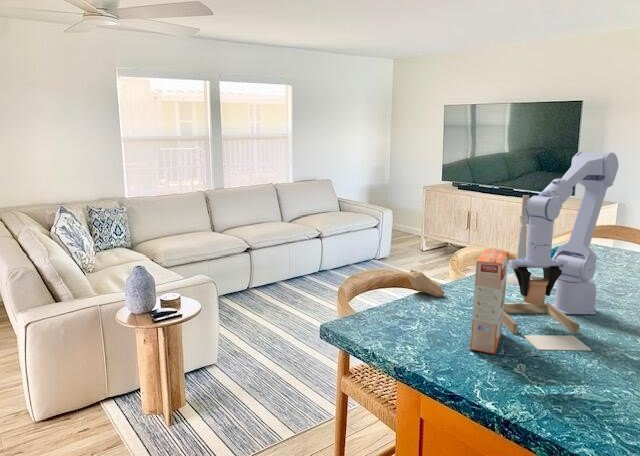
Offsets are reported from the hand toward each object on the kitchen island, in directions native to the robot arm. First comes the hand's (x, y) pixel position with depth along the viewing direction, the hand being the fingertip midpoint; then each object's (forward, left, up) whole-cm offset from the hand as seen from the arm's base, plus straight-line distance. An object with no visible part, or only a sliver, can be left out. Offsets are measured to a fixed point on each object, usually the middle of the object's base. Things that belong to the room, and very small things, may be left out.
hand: (535, 295), depth 124 cm
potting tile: (0, +13, -8) cm, 15 cm away
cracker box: (+16, +13, -8) cm, 22 cm away
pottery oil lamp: (+23, -24, -8) cm, 34 cm away
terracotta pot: (0, 0, -2) cm, 2 cm away
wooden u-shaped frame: (0, 0, -8) cm, 8 cm away
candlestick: (-11, -36, -8) cm, 39 cm away
